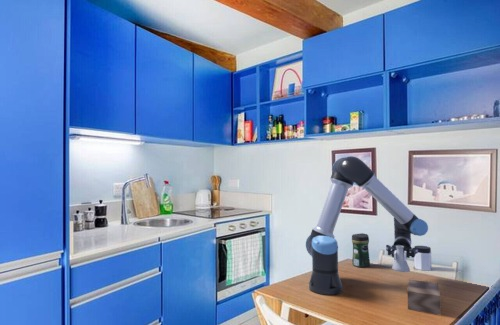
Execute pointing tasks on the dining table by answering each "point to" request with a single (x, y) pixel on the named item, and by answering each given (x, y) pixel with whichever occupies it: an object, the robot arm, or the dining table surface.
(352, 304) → the dining table surface
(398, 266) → the flask
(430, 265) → the jar
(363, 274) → the dining table surface
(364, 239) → the coffee jar
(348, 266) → the dining table surface
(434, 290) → the walnut block
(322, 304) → the dining table surface
